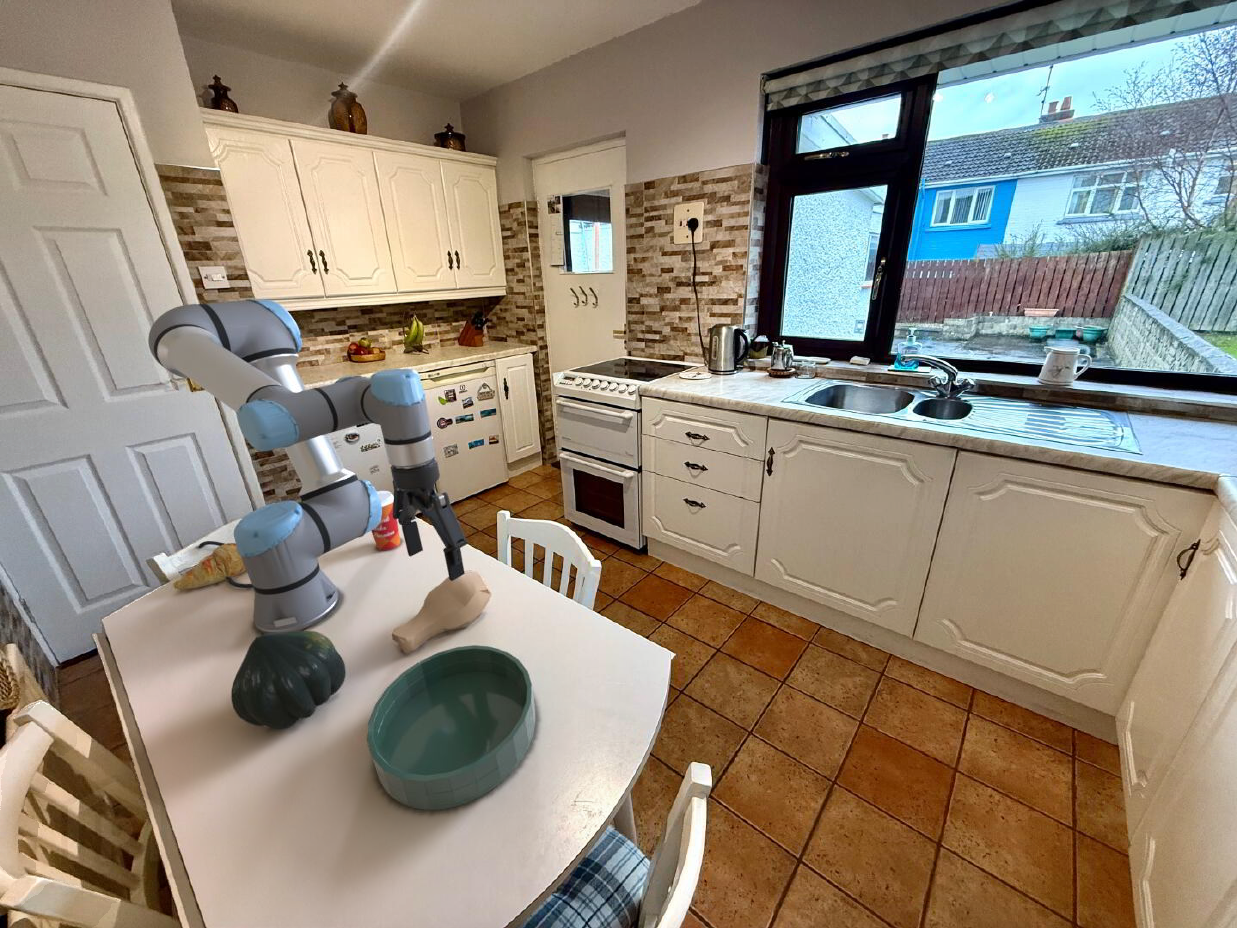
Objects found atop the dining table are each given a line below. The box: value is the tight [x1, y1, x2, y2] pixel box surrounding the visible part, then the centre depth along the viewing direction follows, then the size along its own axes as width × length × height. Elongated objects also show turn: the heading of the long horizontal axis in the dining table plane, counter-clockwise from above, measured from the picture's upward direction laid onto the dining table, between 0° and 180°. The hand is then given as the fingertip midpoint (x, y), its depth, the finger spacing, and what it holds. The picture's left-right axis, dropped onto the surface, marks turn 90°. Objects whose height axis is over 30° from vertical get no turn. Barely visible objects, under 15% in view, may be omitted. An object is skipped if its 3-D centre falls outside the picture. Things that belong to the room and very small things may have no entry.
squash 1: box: [230, 630, 347, 731], centre depth 79 cm, size 14×15×15 cm
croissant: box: [172, 542, 247, 591], centre depth 116 cm, size 21×10×8 cm, turn 148°
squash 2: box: [391, 570, 492, 654], centre depth 96 cm, size 11×20×9 cm, turn 140°
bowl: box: [366, 644, 536, 811], centre depth 74 cm, size 24×24×6 cm
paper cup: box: [370, 490, 401, 551], centre depth 123 cm, size 8×8×14 cm
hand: (435, 564), depth 92 cm, fingers open, 13 cm apart
